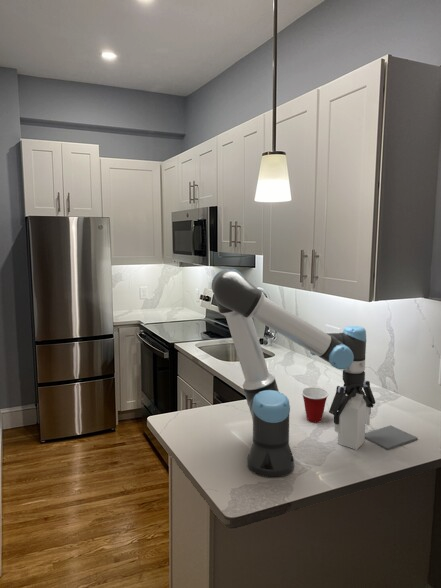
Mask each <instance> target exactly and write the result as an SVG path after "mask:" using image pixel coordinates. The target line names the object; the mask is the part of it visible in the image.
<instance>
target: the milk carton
mask: <svg viewBox="0 0 441 588" xmlns="http://www.w3.org/2000/svg"><path fill="white" fill-rule="evenodd" d="M346 396H348V395H347V394H346ZM340 415H342V433H341V434H339V433H337V444H338V445H341V446H344V447H346V448H347V447H348V448H350V449H354V450H358V449H359V448H360V447H361V446H362V445H363V444H364V443H365V440H366V439H365V433H366V424H365V419H366V402H365V400H364V399H363V395H362V394H357V393H356V396H355V397H351V399H350V400H348V402H347V404H346V406H345V407H344V409H343V411H342V413H341V414H340Z"/></svg>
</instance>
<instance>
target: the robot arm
mask: <svg viewBox="0 0 441 588" xmlns="http://www.w3.org/2000/svg"><path fill="white" fill-rule="evenodd" d="M211 291H212V293H213V296H214V298H215V302H216V305H217V308H218V312H219V314H220V315H222V316H224V317H225V319H226V322H227V325H228V329H229V332H230V335H231V339H232V342H233V344H234V348H235V349H234V350H235V352H236V355H237V359H238V361H239V366H240V367H241V371H242V374H243V377H244V382H243V384H242V389H243V392H244V396H245V398H246V399H245V400H246V403H247V406H248V409H249V412H250V415H251V418H252V443H251V446H250V450H249V453H248V455H247V457H246V460H247V463H246V465H247V466H246V467H247V469H249V471H250V472H252V473H253V474H255V475H257V476H259V477H265V478H270V479H271V478H282V477H286V476H288V475H289V474H291V473H292V472H293V471H294V468H295V459H294V456H293V452H292V450H291V447H290V412H291V405H290V399H289V398H288V396H287V395H286V394H285V393H283V392H280V391H279V387H278V384H277V381H276V378H275V376H274V375H273V374H271V373H270V372H269V370H268V369H269V368H268V366H267V362H266V359H265V355H264V352H263V349H262V345H261V342H260V339H259V336H258V331H257V329H256V326H255V323H254V322H255V321H254V320H256V321H258V322H260V323H261V324H262V325H264V326H266V327H268V328H269V329H271V330H273V331H275V332H276V333H277V334H279V335H281V336H282V337H285V338H286V339H288V340H289V341H291V342H294V343H295V344H297V345H298V346H301V348H304V349H305V350H307V351H308V352H309V353H310V354H311V356H317V357H318V358H320V359H322V360H324V361H325V362H327V363H328V364H330V365H331V367H333V368H335V369H336V370H341V371H342V381H343V383H344V384H343V386H340V385H337V386H336V389H335V391H336V392H335V394H334V396H333V398H332V399H333V400H332V402H331V405H330V408H329V410H328V413H330V414H331V415H332V416H333V424H334V432H336V433H337V434H338V433H339V434H341V433H342V415H340V414H341V413H342V411H343V409H344V407H345V406H346V404H347V402H348V400H350V399H351V397H355V396H356V393H357V394H362V395H363V399H364V400H365V402H366V419H365V425H367V426H369V425H370V421H371V420H370V419H371V418H370V416H371V410H372V409H373V408H374V406H375V404H376V400H375V396H374V394H373V392H372V389H371V383H370V381H369V380H367V379H366V354H367V352H366V351H367V350H366V349H367V332H366V329H365V328H364V327H363V326H358V325H346V326H345V327H344V328H343V331H342V332H338V333H337V332H330V333H326V332H324V331H322V330H321V329H320V328H318V327H316V326H315V325H313V324H311V323H309V322H307V321H306V320H304V319H303V318H301V317H299V316H298V315H296V314H295V313H292V312H291V311H289V310H288V309H286V308H285V307H283V306H281V305H279V304H278V303H276V302H275V301H273V300H271V299H269V298H268V297H266V296H265V295H264V292H263V291H262V290H261V289H259V288H258V287H256V286H255V285H253V283H251V282H250V281H249V280H248V279H247V278H246V277H245V275H244V274H243V273H242V272H240V271H239V270H237V269H234V268H226V269H222V270H220V271H219V272H217V273H216V274H215V275H214V276H213V279H212V281H211ZM346 394H347V395H348V396H346Z"/></svg>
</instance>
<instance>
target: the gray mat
mask: <svg viewBox="0 0 441 588" xmlns="http://www.w3.org/2000/svg"><path fill="white" fill-rule="evenodd" d="M418 438H419V437H417V436H415V435H413V434H410V433H408V432H406V431H404V430H402V429H400V428H398V427H395V426H393V425H391V424H390V425H388V426H384V427H381V428H378V429H375V430H371V431H368V432H365V440H367V441H369V442H371V443H373V444H374V445H375V446H378V447H380V448H382V449H384V450H386V451H389V450H392V449H395V448H398V447H400V446H403V445H407V444H409V443H411V442H415V441H417V440H418Z"/></svg>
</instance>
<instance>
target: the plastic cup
mask: <svg viewBox="0 0 441 588" xmlns="http://www.w3.org/2000/svg"><path fill="white" fill-rule="evenodd" d="M300 392H301V395H302V399H303V404H304V411H305V416H306V420H307V421H308V422H310V423H313V424H314V423H315V424H316V423H320V422H322V420H323V415H324V413H325V412H324V410H325V406H326V402H327V398H328V397H329V395H330V393H329V391H328V390H327V389H325V388H322V387H319V386H307V387H304V388H303V389H302V390H301V391H300Z"/></svg>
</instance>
